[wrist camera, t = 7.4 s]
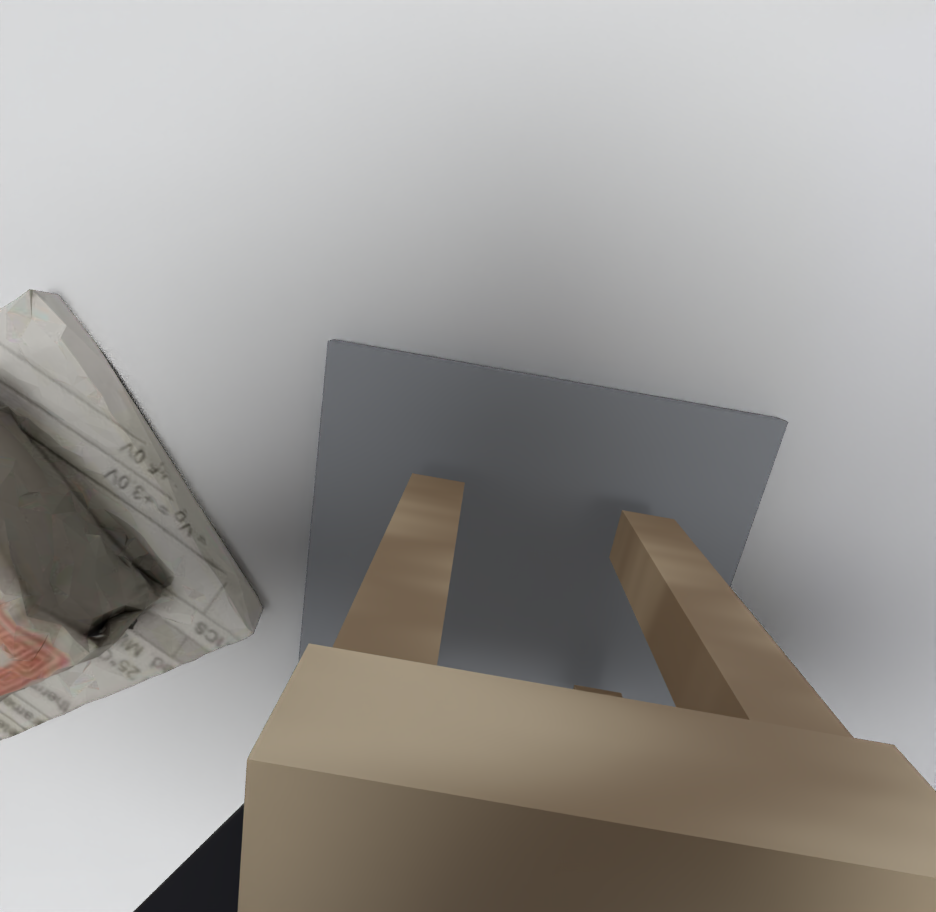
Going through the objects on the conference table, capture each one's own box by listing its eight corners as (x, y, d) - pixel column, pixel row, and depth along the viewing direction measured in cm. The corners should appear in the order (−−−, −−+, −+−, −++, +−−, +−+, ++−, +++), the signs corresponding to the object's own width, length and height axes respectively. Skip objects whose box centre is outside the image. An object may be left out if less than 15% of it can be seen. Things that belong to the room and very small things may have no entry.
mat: (777, 417, 13) (788, 422, 13) (656, 766, 16) (661, 780, 16) (334, 339, 13) (328, 341, 13) (299, 705, 16) (293, 717, 16)
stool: (685, 513, 12) (1027, 893, 4) (615, 738, 14) (767, 1285, 6) (404, 463, 12) (247, 758, 4) (371, 695, 14) (219, 1193, 6)
